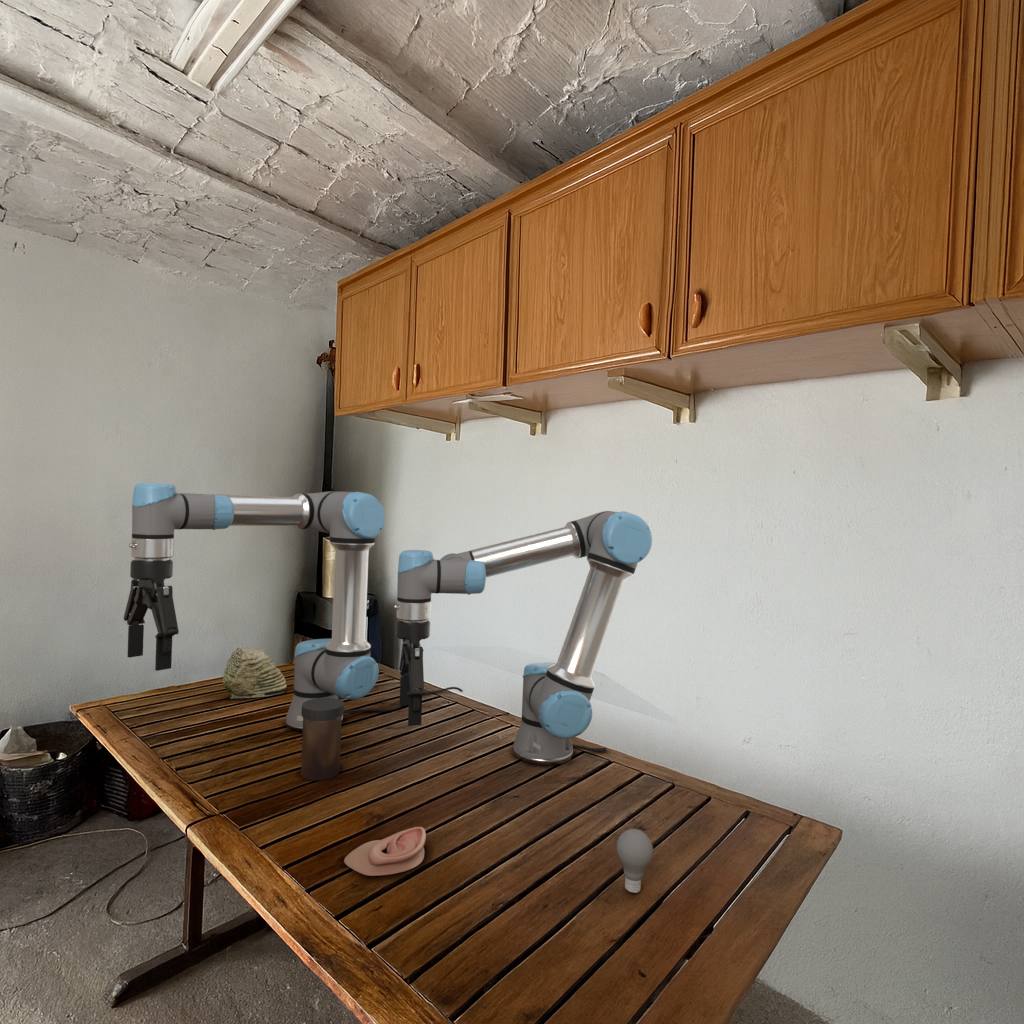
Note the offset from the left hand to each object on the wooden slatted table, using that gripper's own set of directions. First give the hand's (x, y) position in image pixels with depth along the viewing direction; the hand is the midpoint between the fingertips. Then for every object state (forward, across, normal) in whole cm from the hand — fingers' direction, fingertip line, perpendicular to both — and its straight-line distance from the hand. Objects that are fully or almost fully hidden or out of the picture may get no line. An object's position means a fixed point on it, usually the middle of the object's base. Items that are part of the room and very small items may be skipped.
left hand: (148, 662), depth 129 cm
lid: (+12, +15, +32) cm, 37 cm away
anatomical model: (+28, +53, +19) cm, 63 cm away
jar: (+28, +15, +32) cm, 45 cm away
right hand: (+12, +33, +42) cm, 55 cm away
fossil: (+28, -47, +50) cm, 74 cm away
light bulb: (+28, +90, +41) cm, 103 cm away
